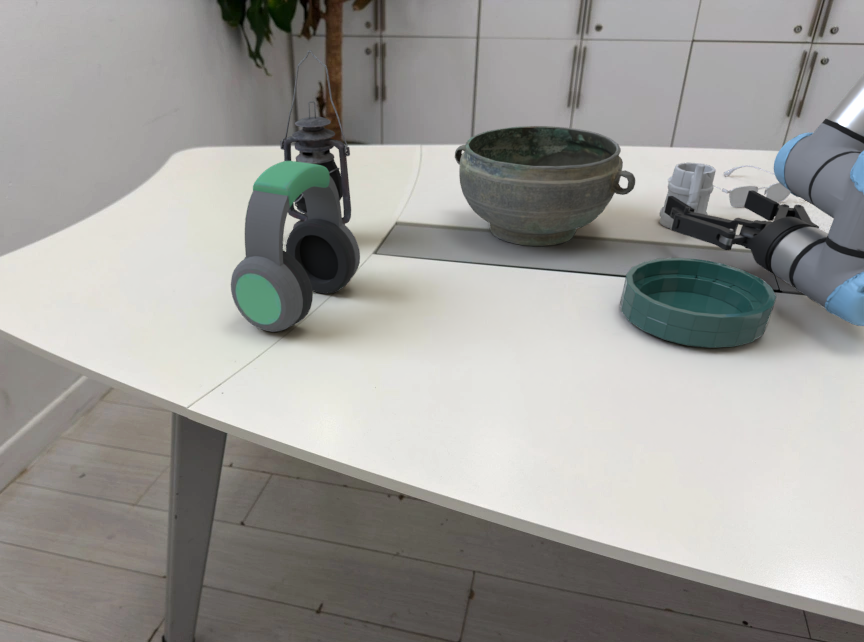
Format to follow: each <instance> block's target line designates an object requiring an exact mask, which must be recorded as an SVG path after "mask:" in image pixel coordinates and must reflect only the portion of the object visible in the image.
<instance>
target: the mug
mask: <svg viewBox="0 0 864 642" xmlns="http://www.w3.org/2000/svg"><path fill="white" fill-rule="evenodd" d="M716 172H717V170H716V168H715V167H714V166H712V165H710V164H705V163H700V162H681V163H677V164H676V165H674V168H673V172H672V175H671V176H672V178H671V180H670V181H668V183H667V193H666V196H665V200H664V203H663V206H662V207H661V208H660V210H659V217H660V218H659V224H660V225H662V226H663V227H665V228H667V229H670V230H671V228H672V224H673V220H674V219H672V218H671V217H670V216H669V215H667V214H666V213H664V212H665V207H666V203H667V199H668V196H674V197H676V198H677V199H679V200H680V201H682V202H684V203H685V204H687V205H688V206H691V207H692V208H693V209H694V212H696V213H701V214H705V215H709V214H708V212H707V211H708V206H709V205H708V204H709V202H710V197H711V194H712V193H713V191H714V188H715V187H714V186H715V185H714V180H715V177H716ZM713 185H714V186H713Z"/></svg>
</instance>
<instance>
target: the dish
mask: <svg viewBox="0 0 864 642" xmlns="http://www.w3.org/2000/svg"><path fill="white" fill-rule="evenodd" d="M776 299H777V295H776V292H775V291H774V289H773V287H772V286H771V285H770V284H768V283H767V281H765V280H763V279H762V278H760V277H759V276H756V275H754V274H753V273H749V272H748V271H746V270H744V269H742V268H738V267H735V266H731V265H728V264H724V263H722V262H716V261H710V260H705V259H700V258H687V257H668V258H667V257H665V258H664V257H663V258H656V259H650V260H646V261H645V260H644V261H642V262H640V263H638V264H636V265H633V266H632V267H631V268H630V269H629V270H628V272H627V273H626V275H625V278H624V283H623V288H622V292H621V296H620V302H619V303H620V304H619V305H620V312H621V313H622V314H623V316H624V317H625V318H626V319H627V321H628V322H629V323H631V324H632V325H634V326H635V327H636V328H638V329H640V330H641V331H643V332H645V333H647V334H649V335H651V336H653V337H655V338H657V339H658V338H659V339H660V340H663V341H666V342H670V343H672V344H673V343H674V344H676V345H682V346H688V347H694V348H704V349H705V348H707V349H717V348H733V347H734V348H735V347H738V346H739V347H740V346H742V345H746V344H750V343H753V342H755V341H756V340H757V339H759V338H760V337H762V336H764V333H765V331H766V328H767V325H768V322H769V319H770V317H771V314H772V311H773V308H774V305H775V303H776Z"/></svg>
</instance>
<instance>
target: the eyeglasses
mask: <svg viewBox="0 0 864 642" xmlns="http://www.w3.org/2000/svg"><path fill="white" fill-rule="evenodd" d="M742 168H755V169H757V170H761V171H764V172H766V173H769V174H772V175H774V176H775V174H774V172H770V171H768V170H767V169H766V170H765V169H763V168H761V167H758V166H755V165H750V164H749V165H748V164H747V165H746V164H745V165H739V166H735V167H733V168H732V167H731V168H729V169H728V170H725V171H724V172H723V175H724V176H730V175H732V173H733V172H735V171H737V170H738V169H742ZM728 171H729V172H728ZM671 178H672V175H671V176H670V177H668V179H667V181H668V182H669V181H670V180H671ZM713 186H714V188H717V189H719V190H721V192H723V193H725V194H728V197H729V198H728V199H729V204H730V207H732V208H742V207H743V208H744V205H745V201H746V198H747V195H748V192H749V191H751V190H753V191H755V192H757V193H759V190H763V189H765V190H764V193H763V194H764V195H763V196H765V197H767V198H769V199H771V200H773V201H775V202H777V203H780V202H783V201H785V200H786V199H787V198H788V197H789V196H790V195H791V193H790V191H789V190H788V189H787V188H785V187H784V186H783V185H782V184H780V183H779V181H777V182H775V183H772V184H770V185H769V186H768V187H767V186H762V187H758V186H756V185H743V186H737V187H734V188H732V189H726V188H721V187H719V186H716V185H714V184H713Z"/></svg>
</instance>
